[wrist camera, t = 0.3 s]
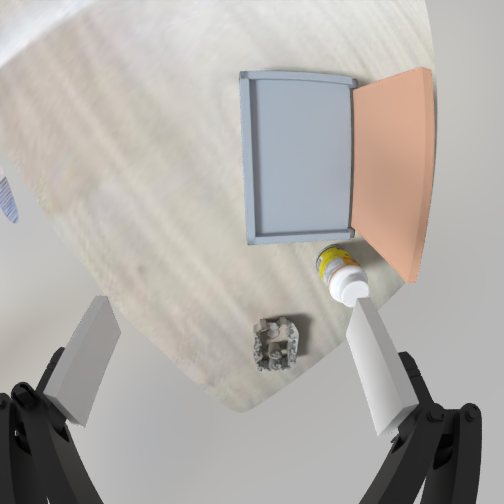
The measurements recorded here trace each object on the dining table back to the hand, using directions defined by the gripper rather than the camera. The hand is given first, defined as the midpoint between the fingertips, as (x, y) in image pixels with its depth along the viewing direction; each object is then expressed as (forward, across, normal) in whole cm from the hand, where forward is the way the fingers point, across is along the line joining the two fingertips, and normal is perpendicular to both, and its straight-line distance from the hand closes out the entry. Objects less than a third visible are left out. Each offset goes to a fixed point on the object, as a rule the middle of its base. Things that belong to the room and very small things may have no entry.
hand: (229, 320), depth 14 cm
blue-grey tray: (+27, +7, +4) cm, 28 cm away
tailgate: (+24, +15, +4) cm, 28 cm away
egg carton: (+24, +6, -28) cm, 37 cm away
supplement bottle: (+26, +14, -12) cm, 32 cm away
